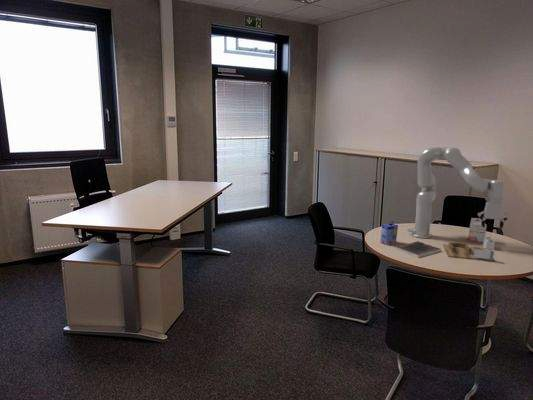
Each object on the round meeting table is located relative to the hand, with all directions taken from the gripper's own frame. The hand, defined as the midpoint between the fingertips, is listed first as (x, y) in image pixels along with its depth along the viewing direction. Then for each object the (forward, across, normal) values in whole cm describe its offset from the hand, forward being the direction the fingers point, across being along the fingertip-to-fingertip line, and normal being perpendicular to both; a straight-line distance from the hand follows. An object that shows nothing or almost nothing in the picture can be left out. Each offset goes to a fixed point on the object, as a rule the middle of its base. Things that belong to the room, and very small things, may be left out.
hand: (492, 227), depth 242 cm
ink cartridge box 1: (+12, -61, -9) cm, 63 cm away
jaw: (+13, -1, 0) cm, 13 cm away
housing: (+13, -16, -15) cm, 25 cm away
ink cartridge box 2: (+13, -5, +14) cm, 20 cm away
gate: (+12, -9, -25) cm, 30 cm away
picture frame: (+14, -44, -19) cm, 49 cm away
